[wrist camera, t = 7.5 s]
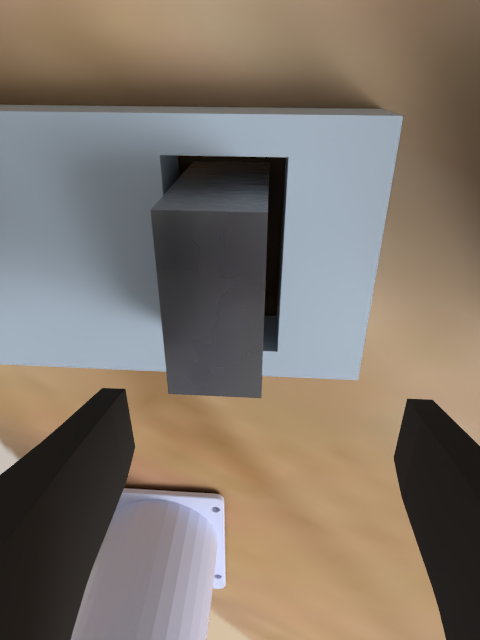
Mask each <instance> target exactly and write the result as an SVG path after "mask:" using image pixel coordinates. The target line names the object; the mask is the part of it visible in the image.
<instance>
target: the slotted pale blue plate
mask: <svg viewBox="0 0 480 640" xmlns="http://www.w3.org/2000/svg"><path fill="white" fill-rule="evenodd" d="M402 121H403V116H402V115H399V114H396V113H393V112H391V111H388V110H385V109H367V108H273V107H179V106H86V105H0V364H6V365H29V366H51V367H74V368H97V369H119V370H142V371H164V372H166V363H165V353H164V343H163V332H162V322H161V312H160V302H159V292H158V282H157V272H156V262H155V251H154V241H153V231H152V221H151V211H150V210H151V209H152V208H153V206H154V205H155V204H156V203H157V202H158V201H159V200H160V199H161V197H162V196H163V195H164V194H165V193H166V192H167V191H168V190H169V188H170V187H171V186H172V185H173V184H174V183H175V182H176V181H177V179H178V178H179V163H178V155H180V156H239V157H285V176H284V195H283V213H282V232H281V250H280V269H279V288H278V306H277V316H265V315H264V337H263V363H262V376H277V377H300V378H322V379H345V380H358V377H359V371H360V365H361V360H362V354H363V348H364V342H365V336H366V330H367V325H368V319H369V313H370V307H371V301H372V296H373V290H374V284H375V278H376V272H377V267H378V261H379V255H380V249H381V243H382V238H383V232H384V226H385V220H386V214H387V209H388V203H389V197H390V191H391V185H392V180H393V174H394V168H395V162H396V156H397V150H398V145H399V139H400V133H401V127H402Z"/></svg>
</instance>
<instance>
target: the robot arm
mask: <svg viewBox="0 0 480 640" xmlns="http://www.w3.org/2000/svg"><path fill="white" fill-rule="evenodd" d="M134 449H135V443H134V438H133V432H132V426H131V420H130V414H129V408H128V402H127V397H126V391H125V389H110V388H102V389H101V390H100V391H99V392H98V393H96V394H95V395H94V396H93V397H92V398H91V399H90V400H89V401H87V402H86V403H85V404H84V405H83V406H82V407H81V408H80V409H79V410H77V411H76V412H75V413H74V414H73V415H72V416H71V417H70V418H69V419H67V420H66V421H65V422H64V423H63V424H62V425H61V426H60V427H58V428H57V429H56V430H55V431H54V432H53V433H52V434H50V435H49V436H48V437H47V438H46V439H45V440H43V441H42V442H41V443H40V444H39V445H37V446H36V447H35V448H34V449H32V450H31V451H30V452H29V453H27V454H26V455H25V456H24V457H22V458H21V459H20V460H19V461H17V462H16V463H15V464H14V465H12V466H11V467H10V468H9V469H7V470H6V471H5V472H4V473H2V474H1V475H0V640H207V631H208V623H209V615H210V606H211V598H212V589H213V588H215V589H221V588H223V587H225V583H226V568H225V514H224V498H223V497H222V496H221V495H219V494H213V493H196V492H180V491H163V490H146V489H129V488H124V486H125V484H126V480H127V477H128V473H129V469H130V465H131V461H132V457H133V453H134ZM394 462H395V467H396V472H397V477H398V482H399V486H400V491H401V496H402V499H403V502H404V505H405V508H406V511H407V514H408V517H409V520H410V523H411V526H412V529H413V532H414V535H415V538H416V541H417V544H418V547H419V549H420V552H421V555H422V558H423V561H424V564H425V567H426V570H427V573H428V576H429V579H430V582H431V584H432V587H433V591H434V594H435V597H436V601H437V604H438V608H439V611H440V615H441V620H442V624H443V628H444V632H445V636H446V640H480V446H479V445H478V444H477V443H476V442H475V441H474V440H473V439H472V438H471V437H470V436H469V435H468V434H467V433H466V432H465V431H464V430H463V429H462V428H461V427H460V426H459V425H458V424H457V423H456V422H454V421H453V420H452V419H451V418H450V417H449V416H448V415H447V414H446V413H445V412H444V411H443V410H442V409H441V408H440V407H439V406H438V405H437V404H436V403H435V402H434V401H433V400H423V399H407V402H406V407H405V411H404V415H403V420H402V424H401V428H400V433H399V437H398V442H397V446H396V450H395V455H394Z"/></svg>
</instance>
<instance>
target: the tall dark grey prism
mask: <svg viewBox="0 0 480 640" xmlns="http://www.w3.org/2000/svg"><path fill="white" fill-rule="evenodd" d="M269 168H270V162H208V161H193V162H192V164H191V165H190V166H189V167H188V168H187V169H186V170H185V172H184V173H183V174H182V175H181V176H180V177H179V178H178V179H177V181H176V182H175V183H174V184H173V185H172V186H171V187H170V188H169V190H168V191H167V192H166V193H165V194H164V195H163V196H162V197H161V199H160V200H159V201H158V202H157V203H156V204H155V205H154V206H153V208H152V209H151V210H150V211H151V221H152V231H153V241H154V251H155V262H156V272H157V282H158V292H159V302H160V312H161V322H162V332H163V343H164V353H165V363H166V373H167V383H168V393H169V394H183V395H205V396H227V397H249V398H261V389H262V363H263V337H264V311H265V283H266V254H267V226H268V197H269Z"/></svg>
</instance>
